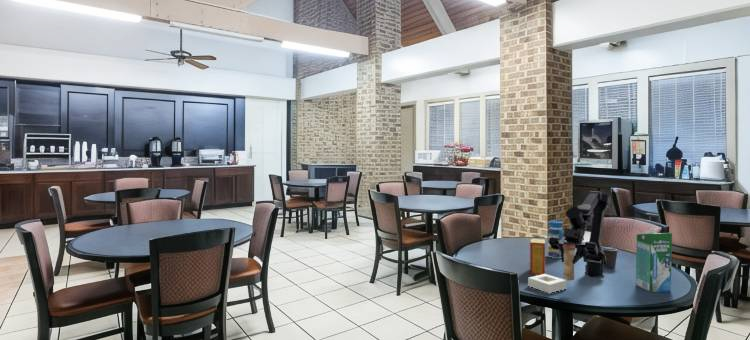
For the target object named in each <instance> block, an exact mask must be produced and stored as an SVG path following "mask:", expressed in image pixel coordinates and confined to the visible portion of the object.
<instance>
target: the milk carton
mask: <svg viewBox="0 0 750 340" xmlns="http://www.w3.org/2000/svg"><path fill="white" fill-rule="evenodd" d="M672 245H673V233H672V232H663V233H662V232H661V233H660V232H659V233H657V230H647V231H646V230H645V233H638V234H636V254H635V255H636V263H635V286H637V287H639V288H641V289H643V290H644V291H645V290H646V291H647V292H651V293H657V292H660V293H664V292H665V293H666V292H671V291H672V257H673V256H672V253H673V250H672V247H673V246H672Z"/></svg>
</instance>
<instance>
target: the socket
mask: <svg viewBox="0 0 750 340" xmlns="http://www.w3.org/2000/svg"><path fill="white" fill-rule="evenodd" d="M528 286H530V287H529V288H531V287H533V288H532V289H534V288H536V289H539V290H541V291H540V292H542V291H545V292H548V293H552V292H555V293H557V292H556V291H559V292H561V291H560V290H562V291H564V289H566V290H567V280H566V279H564V278H561V277H557V276H553V275H550V274H547V273H545V274H541V275H533V276H529V277H528V278H527V287H528ZM536 289H535V290H536ZM539 290H538V291H539ZM545 292H544V293H545ZM548 293H547V294H548ZM552 294H553V293H552Z"/></svg>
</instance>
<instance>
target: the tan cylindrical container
mask: <svg viewBox="0 0 750 340" xmlns="http://www.w3.org/2000/svg"><path fill="white" fill-rule="evenodd" d="M563 248H564V262H563V279H564V280H566V281H574V280H575V264H573V259H574V256H575V250H576V248H575V245H572V244H563Z"/></svg>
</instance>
